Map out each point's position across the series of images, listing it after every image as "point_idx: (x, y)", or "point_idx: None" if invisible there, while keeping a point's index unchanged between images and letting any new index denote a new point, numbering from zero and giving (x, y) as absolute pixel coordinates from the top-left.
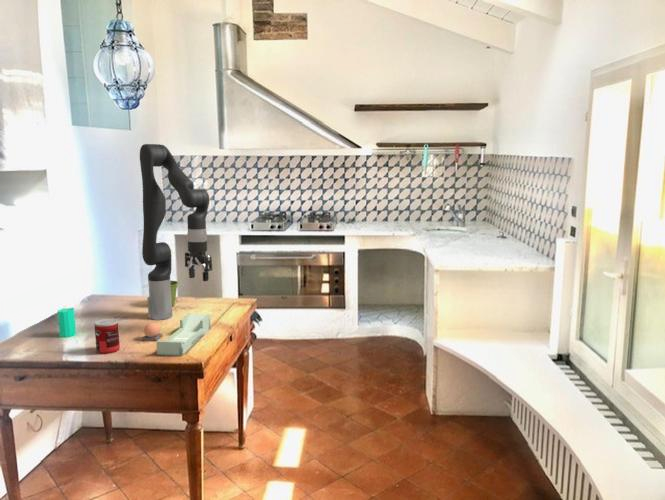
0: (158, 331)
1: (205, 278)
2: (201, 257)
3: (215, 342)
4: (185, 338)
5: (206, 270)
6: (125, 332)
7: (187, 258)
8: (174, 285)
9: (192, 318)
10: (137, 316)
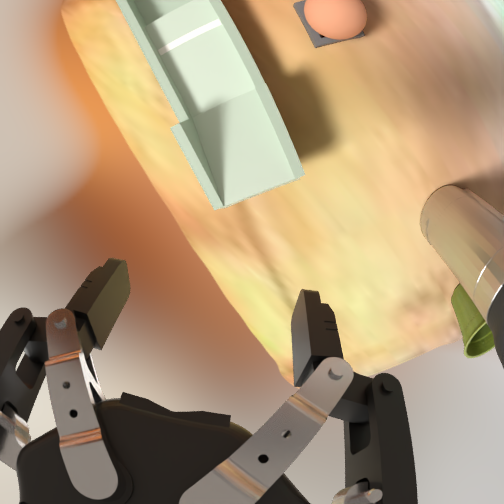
0: (304, 13)
1: (91, 275)
2: (25, 462)
3: (111, 102)
4: (184, 40)
5: (22, 314)
6: (447, 53)
7: (374, 474)
8: (470, 337)
9: (268, 158)
10: (495, 195)
